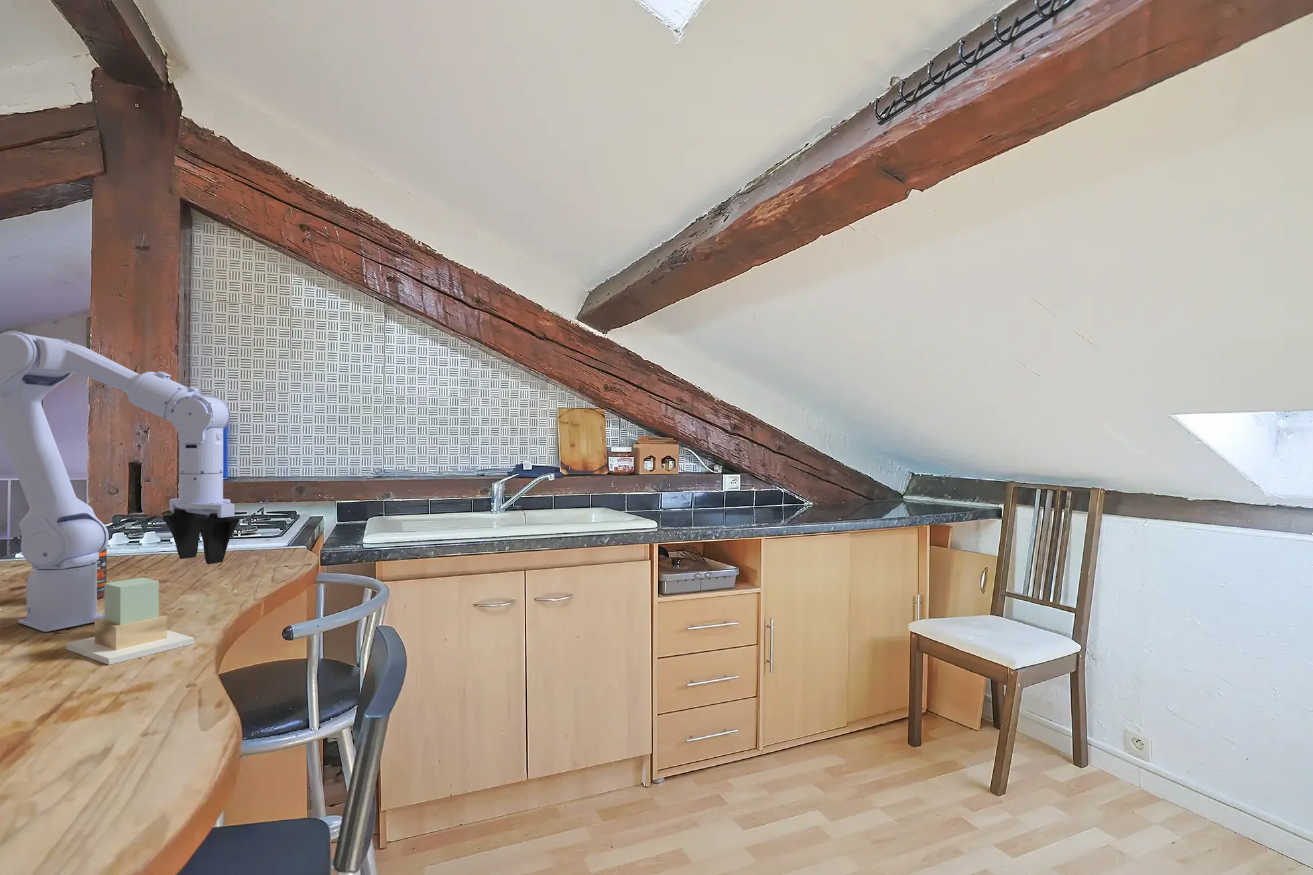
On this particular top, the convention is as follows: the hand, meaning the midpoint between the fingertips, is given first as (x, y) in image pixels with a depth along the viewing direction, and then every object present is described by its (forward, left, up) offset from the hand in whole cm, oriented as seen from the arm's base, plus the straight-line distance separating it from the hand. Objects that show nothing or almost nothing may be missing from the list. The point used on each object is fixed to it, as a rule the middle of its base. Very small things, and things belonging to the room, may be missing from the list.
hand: (201, 560), depth 106 cm
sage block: (+5, -11, -6) cm, 14 cm away
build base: (+5, -12, -9) cm, 16 cm away
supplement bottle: (-31, -3, -10) cm, 33 cm away
